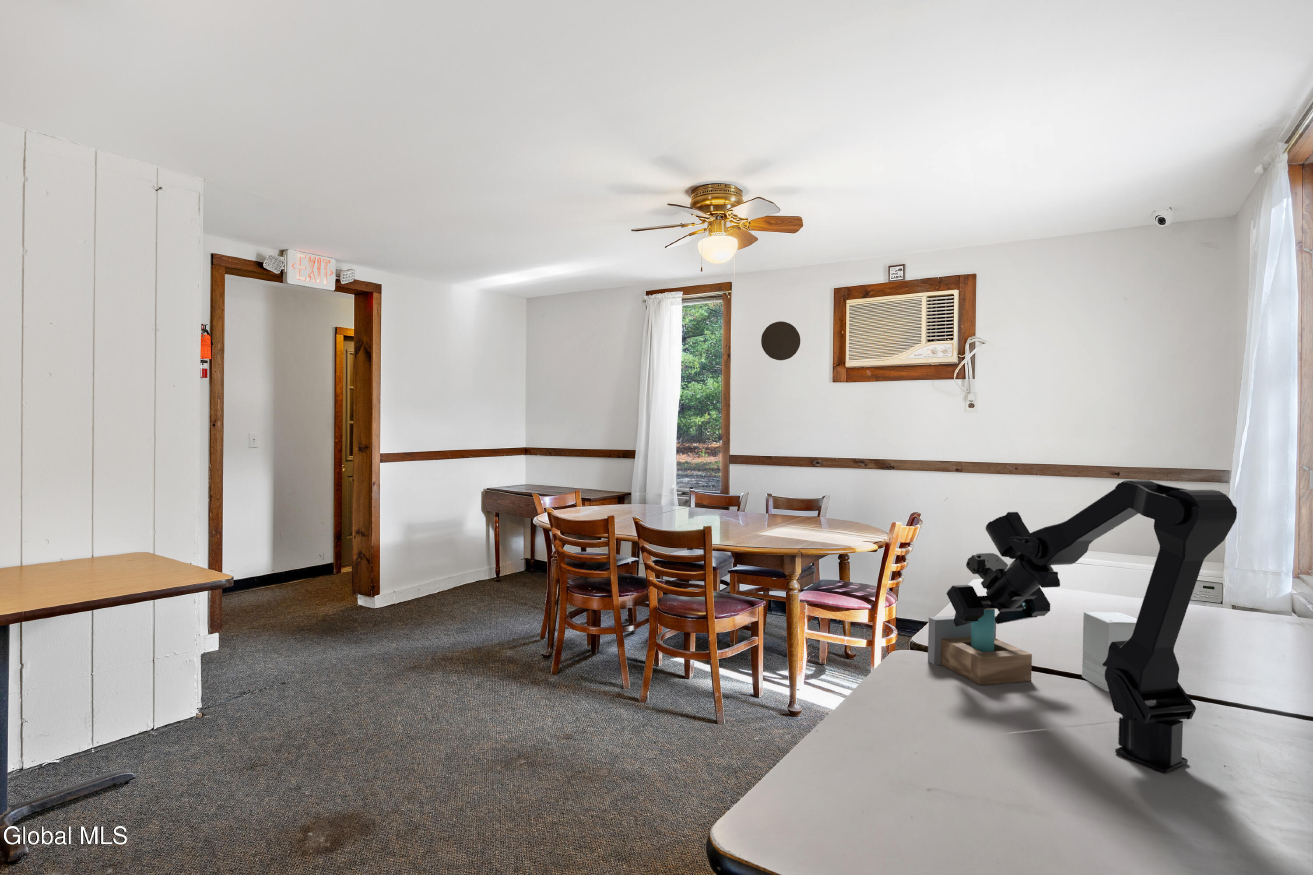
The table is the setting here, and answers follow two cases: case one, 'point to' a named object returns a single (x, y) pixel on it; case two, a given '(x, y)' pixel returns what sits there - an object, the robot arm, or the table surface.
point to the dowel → (984, 632)
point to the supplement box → (1102, 641)
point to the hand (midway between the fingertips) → (975, 622)
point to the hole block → (986, 662)
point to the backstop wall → (944, 635)
